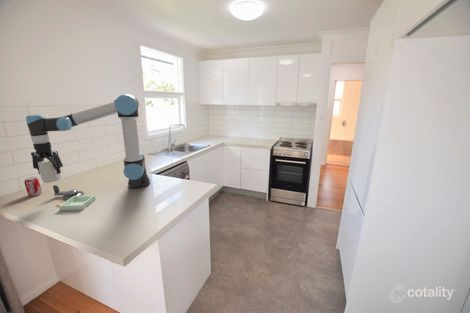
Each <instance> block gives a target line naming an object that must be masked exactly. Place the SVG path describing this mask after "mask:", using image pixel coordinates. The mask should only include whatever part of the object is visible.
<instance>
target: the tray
mask: <svg viewBox="0 0 470 313" xmlns="http://www.w3.org/2000/svg"><path fill="white" fill-rule="evenodd" d="M96 200H97V198H96V195H94V194H93V195H92V194H90V195H83V196H73V197H72V198H70V199H68V200H64V201H63V202H64V203H62V204H61V205H59V206H58V209H59V211H61V212H62V211H84V210H85V209H86V208H87V207H88V206H90V205H91V204H93V203H94V202H95V201H96ZM89 204H90V205H89ZM84 208H85V209H84Z"/></svg>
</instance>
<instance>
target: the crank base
mask: <svg viewBox="0 0 470 313" xmlns="http://www.w3.org/2000/svg"><path fill="white" fill-rule="evenodd" d="M77 191H78V194H77V195H74V196H85V193H84V191H81V190H77ZM72 197H73V196H69V195H62V199H63V200H64V201H67V200H68V199H70V198H72Z"/></svg>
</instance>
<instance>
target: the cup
mask: <svg viewBox="0 0 470 313" xmlns="http://www.w3.org/2000/svg"><path fill="white" fill-rule="evenodd" d="M38 166H39V170H40V173H41V176H42V179H41V181H42V182H43V183H45V184H49V183H54V182H57V181H60V180H61V178H60V179H58V180H57V179H56V175H55V171H54V169H55V168H54V166H53V164H52V162H50V161H49V160H48V159H44V161H42V162H38ZM41 176H40V177H41Z"/></svg>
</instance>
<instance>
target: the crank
mask: <svg viewBox="0 0 470 313" xmlns="http://www.w3.org/2000/svg"><path fill="white" fill-rule="evenodd" d="M52 188H53V192H54V193H53V194H54V196H55V197H56V196H64V195H69V196H74V195H77V194H78V191H79V190H78V189H75V188H74V189H70V190H68V191H66V190H65V191H60V188H59V185H58V184H55V185H53V186H52Z"/></svg>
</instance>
